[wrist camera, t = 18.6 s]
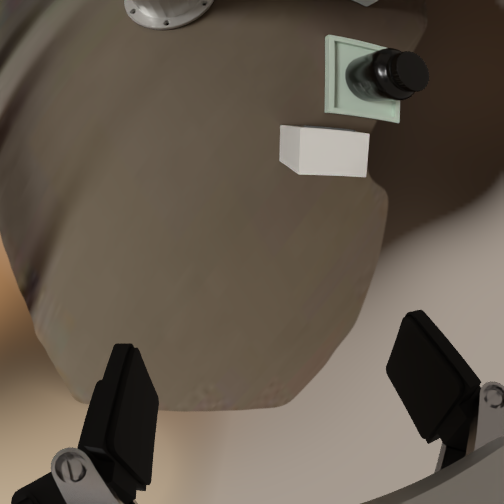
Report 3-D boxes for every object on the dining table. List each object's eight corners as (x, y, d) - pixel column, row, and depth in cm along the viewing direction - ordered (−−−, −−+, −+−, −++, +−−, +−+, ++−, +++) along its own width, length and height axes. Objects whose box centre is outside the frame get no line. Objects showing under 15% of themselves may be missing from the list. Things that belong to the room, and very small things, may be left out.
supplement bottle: (389, 98, 35) (441, 98, 24) (350, 105, 35) (397, 104, 25) (377, 55, 32) (427, 43, 21) (337, 60, 32) (380, 44, 22)
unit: (280, 123, 36) (300, 125, 27) (335, 127, 37) (369, 132, 28) (279, 162, 39) (298, 177, 30) (333, 164, 40) (365, 179, 31)
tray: (325, 36, 31) (328, 34, 30) (394, 53, 32) (400, 51, 31) (324, 112, 36) (328, 112, 35) (394, 122, 37) (399, 123, 36)
